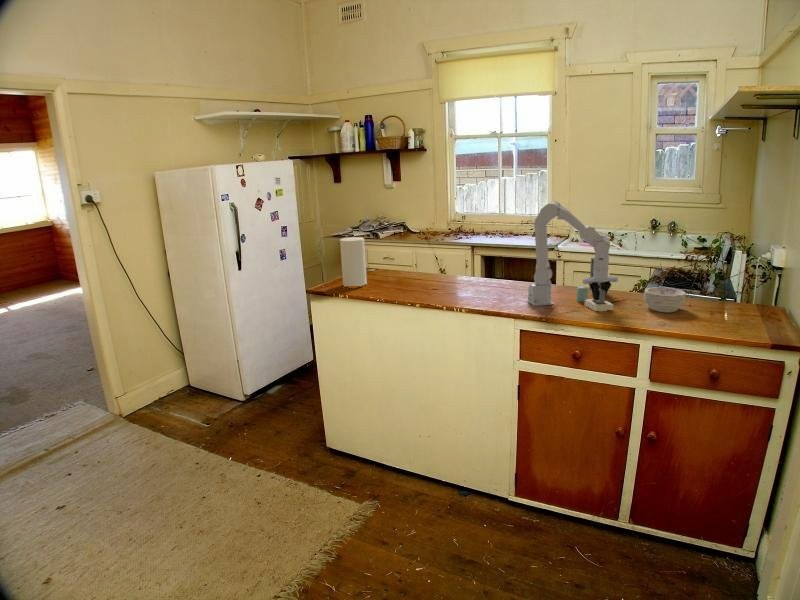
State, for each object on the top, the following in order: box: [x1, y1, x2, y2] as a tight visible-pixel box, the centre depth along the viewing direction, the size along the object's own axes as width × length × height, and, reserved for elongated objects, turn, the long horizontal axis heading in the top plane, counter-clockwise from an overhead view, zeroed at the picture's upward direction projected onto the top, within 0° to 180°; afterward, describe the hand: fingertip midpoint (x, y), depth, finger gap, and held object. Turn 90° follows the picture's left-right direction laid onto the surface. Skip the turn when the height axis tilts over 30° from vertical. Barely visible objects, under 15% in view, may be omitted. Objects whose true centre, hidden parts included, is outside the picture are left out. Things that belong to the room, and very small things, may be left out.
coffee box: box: [588, 257, 601, 297], centre depth 241 cm, size 9×6×16 cm
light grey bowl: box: [643, 286, 687, 313], centre depth 215 cm, size 15×15×8 cm
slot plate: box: [584, 298, 614, 312], centre depth 222 cm, size 8×10×2 cm
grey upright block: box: [576, 285, 589, 303], centre depth 232 cm, size 4×4×6 cm
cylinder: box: [339, 236, 368, 286], centre depth 274 cm, size 12×12×25 cm
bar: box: [592, 288, 606, 304], centre depth 221 cm, size 2×5×8 cm, turn 8°
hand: (599, 299), depth 221 cm, fingers closed on bar, 2 cm apart
